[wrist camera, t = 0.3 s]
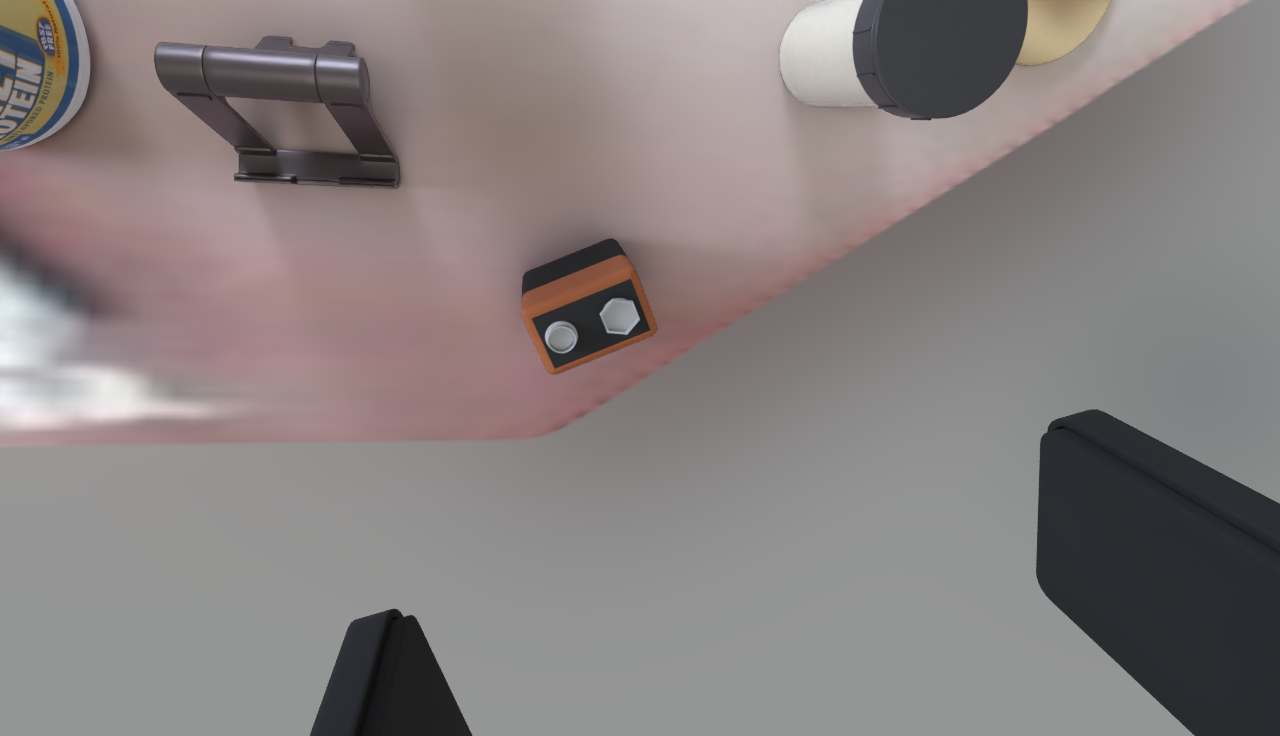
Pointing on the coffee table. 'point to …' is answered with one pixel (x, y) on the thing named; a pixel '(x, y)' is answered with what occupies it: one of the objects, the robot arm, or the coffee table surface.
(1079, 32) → the coaster
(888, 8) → the lid
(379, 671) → the robot arm
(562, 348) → the battery
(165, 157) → the coffee table surface
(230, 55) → the tablet stand
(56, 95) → the supplement tub
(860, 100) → the jar
